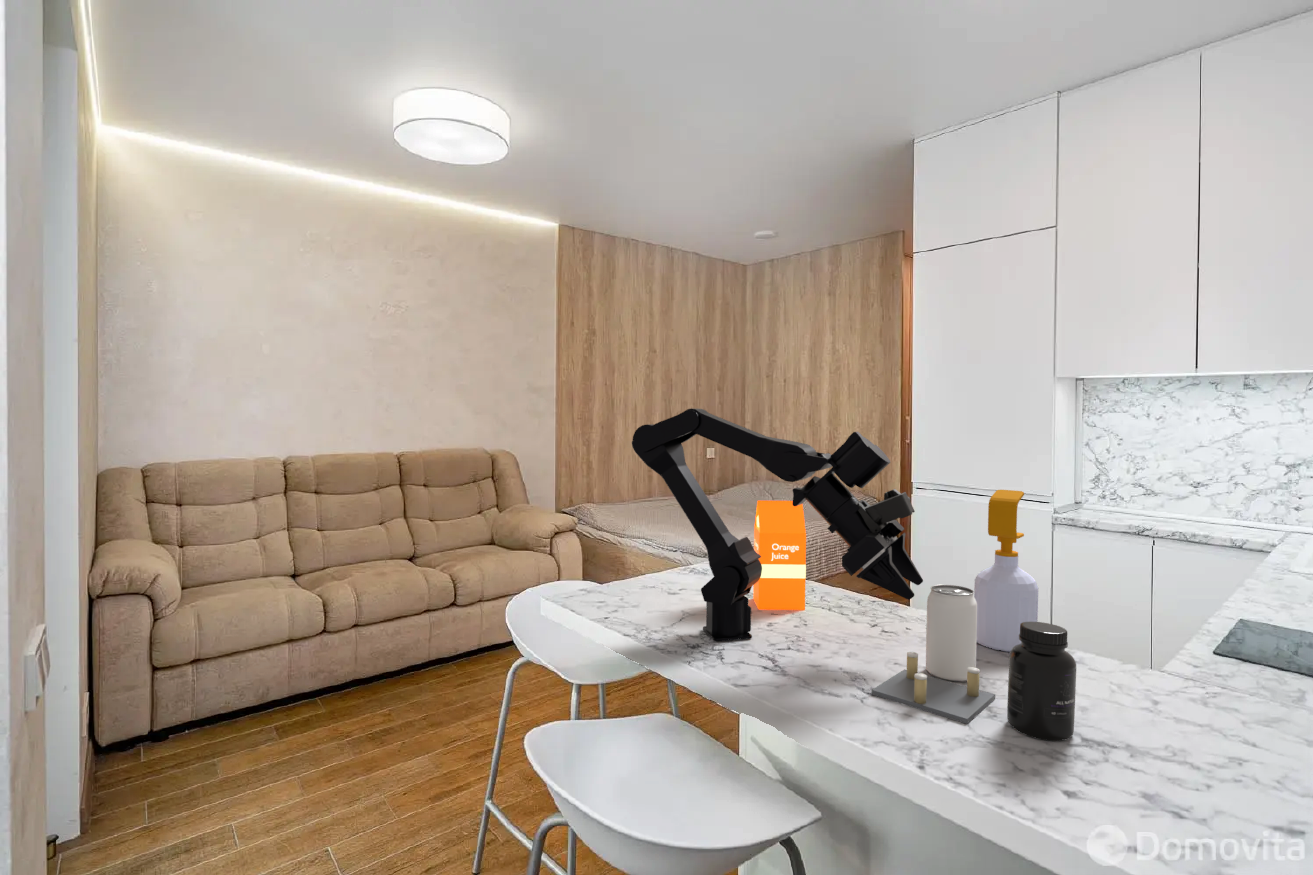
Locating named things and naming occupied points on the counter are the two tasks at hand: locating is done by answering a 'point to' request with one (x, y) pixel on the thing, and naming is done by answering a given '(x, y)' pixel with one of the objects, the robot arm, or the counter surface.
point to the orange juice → (780, 556)
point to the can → (951, 632)
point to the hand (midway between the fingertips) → (916, 590)
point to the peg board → (936, 692)
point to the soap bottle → (1004, 580)
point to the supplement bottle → (1042, 683)
